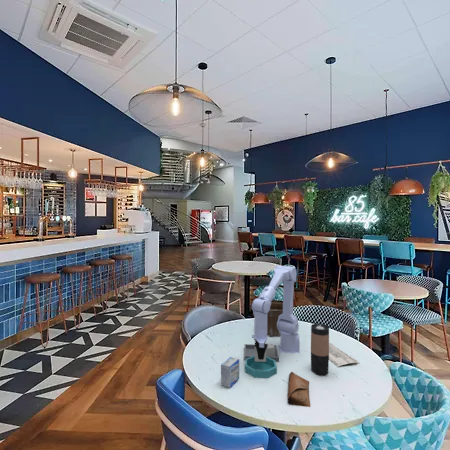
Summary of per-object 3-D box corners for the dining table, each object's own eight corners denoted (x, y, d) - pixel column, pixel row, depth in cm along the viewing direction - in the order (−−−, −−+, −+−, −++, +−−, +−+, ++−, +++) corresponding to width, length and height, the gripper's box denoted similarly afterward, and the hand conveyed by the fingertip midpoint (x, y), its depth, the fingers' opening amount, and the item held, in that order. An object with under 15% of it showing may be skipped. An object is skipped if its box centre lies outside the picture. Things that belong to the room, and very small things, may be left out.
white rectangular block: (265, 357, 128) (265, 346, 128) (265, 361, 124) (266, 350, 124) (254, 357, 128) (254, 346, 128) (254, 361, 124) (254, 350, 124)
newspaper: (361, 365, 132) (360, 360, 132) (338, 371, 130) (337, 366, 130) (332, 344, 154) (332, 340, 154) (312, 348, 152) (311, 344, 152)
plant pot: (259, 327, 178) (260, 301, 178) (286, 328, 176) (286, 302, 175) (259, 337, 162) (259, 309, 161) (288, 339, 159) (288, 310, 159)
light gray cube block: (271, 352, 142) (271, 343, 142) (274, 356, 138) (274, 347, 138) (263, 353, 142) (263, 344, 142) (266, 357, 138) (266, 348, 138)
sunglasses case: (312, 407, 101) (302, 390, 102) (294, 415, 103) (285, 397, 103) (309, 380, 119) (301, 365, 119) (294, 387, 120) (286, 372, 121)
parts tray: (276, 350, 146) (276, 345, 146) (279, 362, 133) (279, 357, 133) (244, 348, 147) (244, 344, 147) (244, 361, 134) (244, 356, 134)
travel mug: (319, 378, 121) (320, 331, 120) (306, 369, 127) (307, 325, 127) (332, 373, 124) (333, 328, 124) (319, 365, 131) (319, 322, 130)
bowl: (274, 363, 133) (274, 356, 133) (277, 379, 119) (277, 371, 119) (245, 362, 134) (245, 355, 134) (245, 378, 120) (245, 370, 120)
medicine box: (229, 388, 113) (230, 366, 113) (220, 385, 115) (220, 363, 115) (239, 379, 119) (239, 358, 119) (230, 376, 122) (230, 356, 122)
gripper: (251, 320, 134) (251, 348, 134) (252, 332, 119) (252, 364, 119) (266, 320, 133) (266, 349, 133) (269, 332, 119) (268, 365, 119)
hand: (260, 356), depth 126 cm, fingers closed on white rectangular block, 4 cm apart
